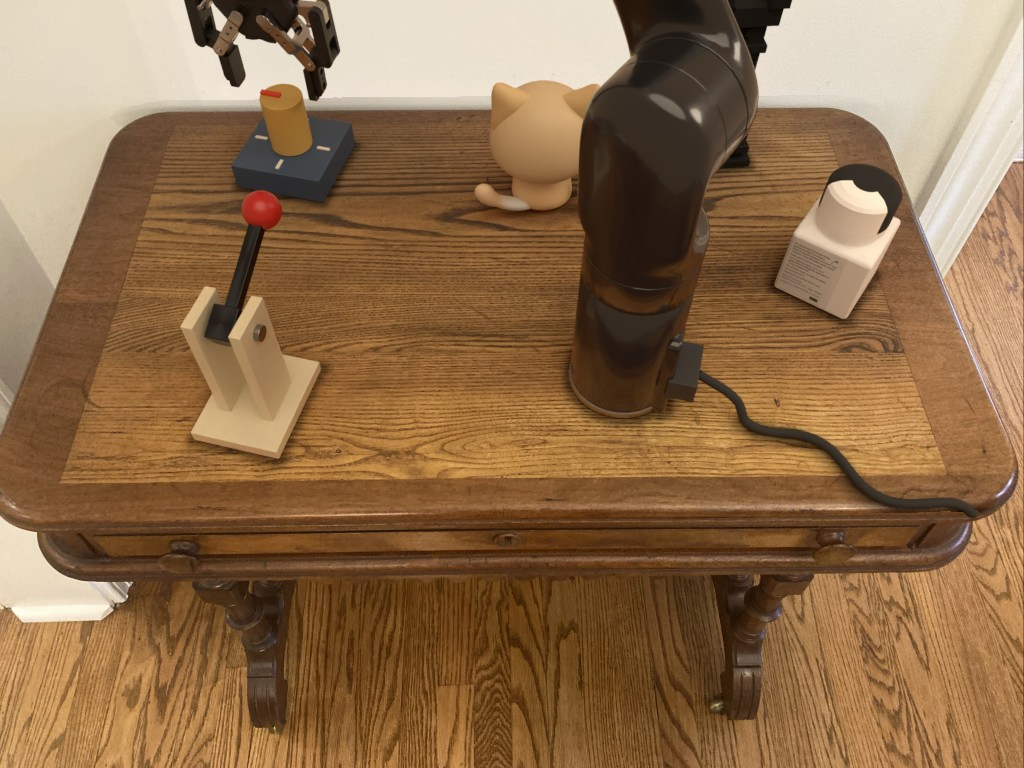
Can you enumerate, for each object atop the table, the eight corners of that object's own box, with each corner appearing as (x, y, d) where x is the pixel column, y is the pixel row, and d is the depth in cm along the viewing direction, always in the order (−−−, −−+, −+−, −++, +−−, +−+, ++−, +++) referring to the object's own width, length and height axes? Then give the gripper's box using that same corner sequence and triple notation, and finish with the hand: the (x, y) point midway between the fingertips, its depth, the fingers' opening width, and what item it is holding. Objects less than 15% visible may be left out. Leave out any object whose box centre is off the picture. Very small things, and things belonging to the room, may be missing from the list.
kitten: (611, 166, 96) (626, 47, 84) (616, 230, 90) (634, 111, 78) (478, 165, 96) (474, 45, 84) (475, 228, 90) (470, 109, 78)
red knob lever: (256, 196, 72) (241, 180, 69) (292, 203, 72) (278, 187, 68) (213, 343, 70) (195, 334, 67) (249, 351, 69) (233, 342, 66)
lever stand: (241, 352, 81) (203, 257, 70) (321, 369, 79) (294, 275, 69) (194, 439, 75) (144, 350, 64) (279, 459, 74) (242, 372, 63)
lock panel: (355, 144, 98) (351, 121, 95) (323, 203, 92) (318, 180, 90) (274, 130, 99) (267, 107, 97) (237, 187, 94) (230, 164, 91)
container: (803, 242, 90) (844, 142, 79) (874, 274, 87) (925, 175, 76) (771, 287, 86) (809, 188, 75) (844, 322, 83) (894, 224, 73)
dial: (318, 134, 94) (308, 84, 89) (303, 159, 92) (291, 110, 87) (281, 127, 95) (268, 78, 90) (265, 152, 92) (251, 103, 87)
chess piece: (664, 125, 100) (695, -42, 84) (730, 121, 101) (774, -46, 85) (679, 171, 96) (715, 3, 80) (748, 166, 96) (798, -2, 80)
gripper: (143, -60, 73) (197, 100, 87) (299, -36, 72) (330, 123, 85) (183, -101, 78) (229, 57, 91) (331, -80, 76) (356, 79, 89)
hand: (277, 89), depth 88 cm, fingers open, 8 cm apart
